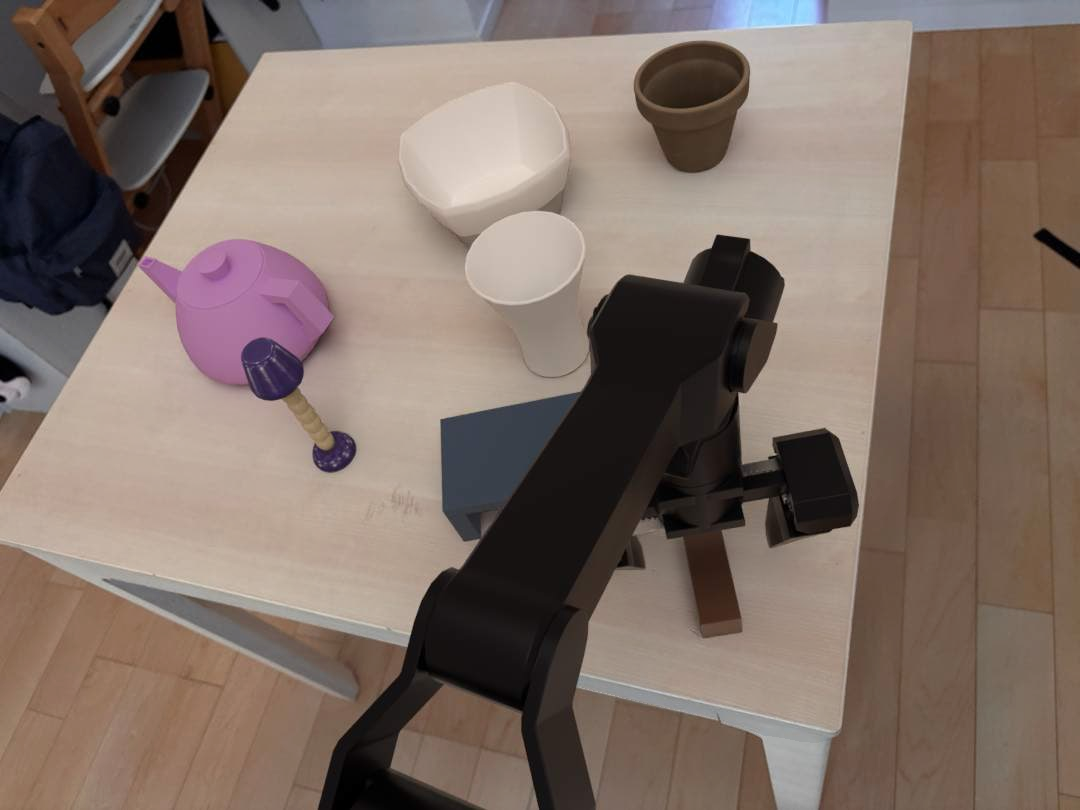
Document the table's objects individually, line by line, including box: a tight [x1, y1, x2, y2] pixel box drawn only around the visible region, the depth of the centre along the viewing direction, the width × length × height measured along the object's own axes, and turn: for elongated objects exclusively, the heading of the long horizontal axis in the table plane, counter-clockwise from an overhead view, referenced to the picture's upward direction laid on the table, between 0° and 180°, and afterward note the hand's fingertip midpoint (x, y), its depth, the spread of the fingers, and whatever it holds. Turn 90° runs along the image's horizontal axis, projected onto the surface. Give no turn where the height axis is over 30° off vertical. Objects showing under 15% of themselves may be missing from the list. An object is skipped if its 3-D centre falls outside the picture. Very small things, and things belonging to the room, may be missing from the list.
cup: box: [464, 211, 590, 378], centre depth 78 cm, size 10×10×14 cm
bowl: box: [397, 81, 572, 249], centre depth 92 cm, size 18×18×9 cm
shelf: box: [440, 391, 581, 542], centre depth 73 cm, size 9×20×6 cm, turn 95°
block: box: [682, 530, 743, 639], centre depth 67 cm, size 8×3×3 cm, turn 5°
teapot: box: [137, 238, 335, 386], centre depth 89 cm, size 22×16×12 cm
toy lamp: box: [241, 337, 357, 473], centre depth 76 cm, size 5×5×17 cm
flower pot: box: [633, 40, 751, 173], centre depth 90 cm, size 12×11×10 cm
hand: (705, 552), depth 62 cm, fingers open, 9 cm apart
